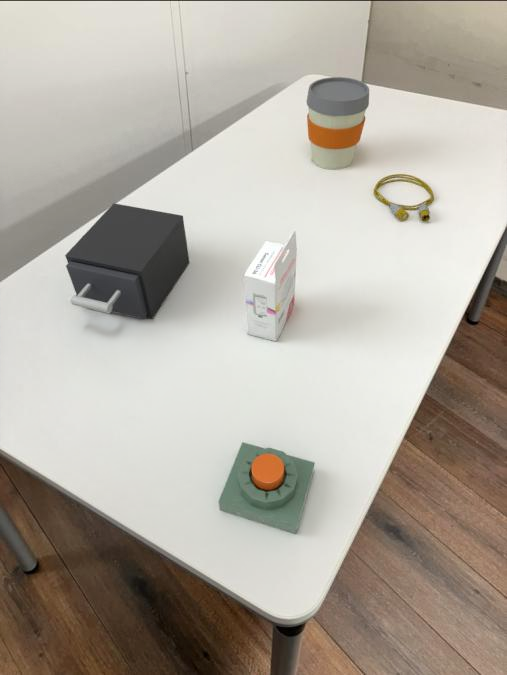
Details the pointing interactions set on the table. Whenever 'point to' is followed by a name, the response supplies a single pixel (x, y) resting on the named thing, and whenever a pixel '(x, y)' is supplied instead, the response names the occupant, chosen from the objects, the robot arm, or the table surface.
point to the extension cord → (399, 209)
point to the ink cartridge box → (271, 288)
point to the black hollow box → (137, 249)
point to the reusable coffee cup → (336, 120)
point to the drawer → (107, 290)
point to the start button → (267, 471)
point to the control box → (267, 505)
